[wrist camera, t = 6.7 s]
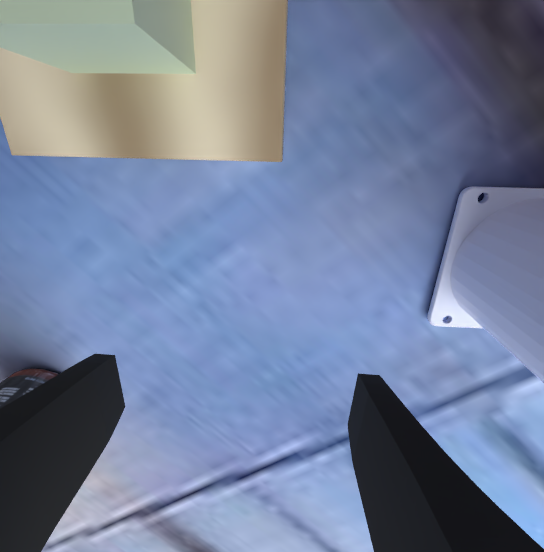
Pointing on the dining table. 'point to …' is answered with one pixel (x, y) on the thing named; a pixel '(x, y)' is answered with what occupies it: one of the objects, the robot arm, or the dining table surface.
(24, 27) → the cube
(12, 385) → the supplement bottle
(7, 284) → the dining table surface
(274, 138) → the base
